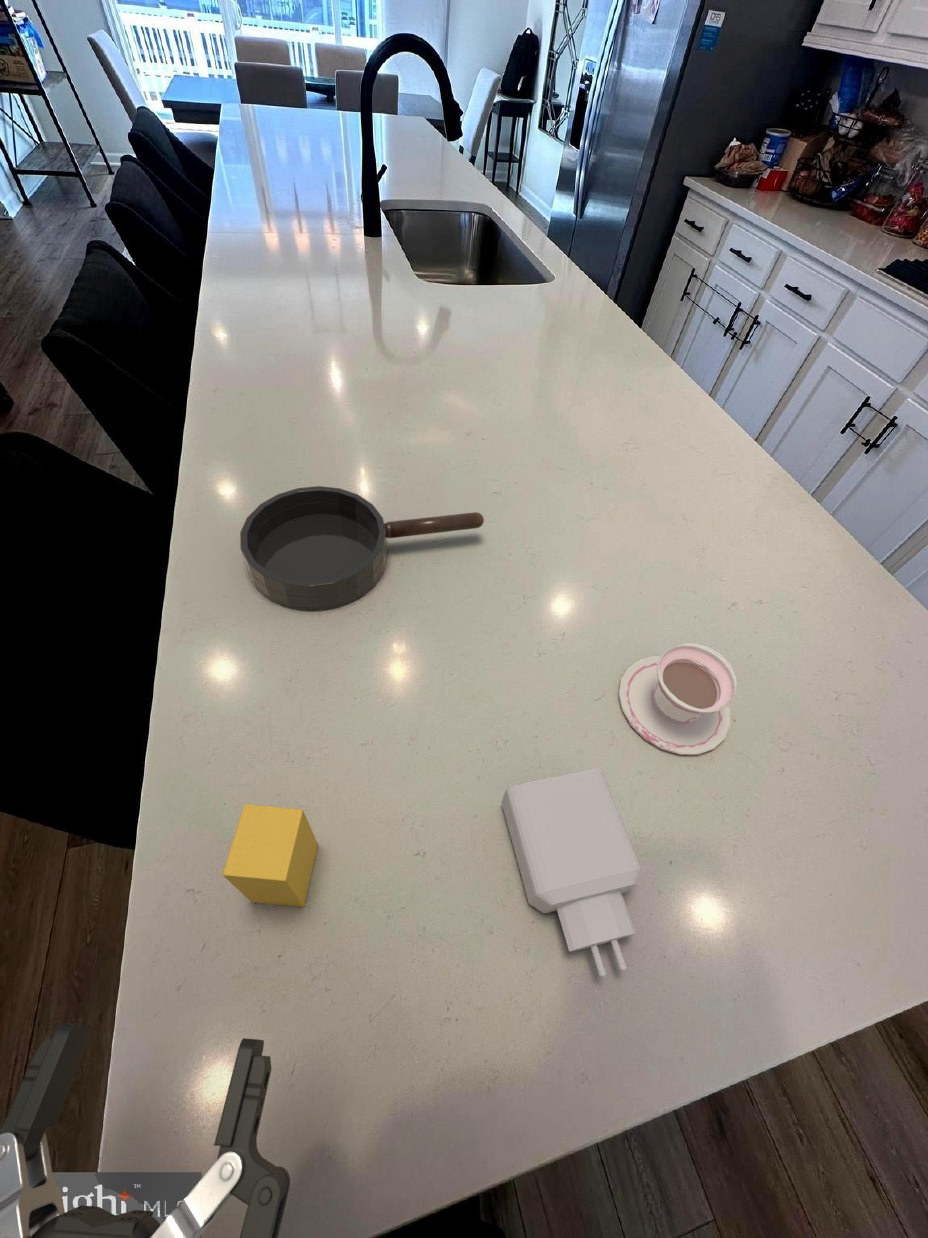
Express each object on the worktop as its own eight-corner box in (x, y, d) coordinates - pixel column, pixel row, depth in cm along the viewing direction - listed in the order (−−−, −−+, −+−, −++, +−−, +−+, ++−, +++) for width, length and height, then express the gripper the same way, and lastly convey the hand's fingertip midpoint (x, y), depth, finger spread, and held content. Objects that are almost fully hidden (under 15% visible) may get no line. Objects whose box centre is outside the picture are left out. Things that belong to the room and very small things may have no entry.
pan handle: (383, 542, 68) (382, 530, 67) (380, 531, 70) (379, 519, 68) (484, 530, 71) (486, 518, 70) (480, 519, 72) (482, 508, 71)
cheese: (304, 907, 46) (285, 881, 39) (250, 902, 46) (221, 875, 39) (318, 844, 49) (303, 809, 42) (268, 839, 49) (244, 803, 42)
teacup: (694, 780, 55) (722, 754, 50) (596, 703, 60) (613, 672, 55) (747, 705, 61) (776, 675, 56) (654, 640, 66) (673, 607, 61)
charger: (550, 992, 44) (500, 804, 52) (657, 962, 45) (591, 785, 54) (563, 987, 40) (507, 785, 48) (679, 954, 42) (604, 766, 50)
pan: (250, 620, 63) (241, 594, 59) (247, 520, 72) (239, 493, 69) (396, 600, 66) (396, 574, 63) (375, 507, 76) (374, 480, 72)
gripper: (-180, 1581, 20) (57, 1022, 30) (220, 1610, 20) (322, 1045, 30) (-430, 1804, 14) (-30, 1014, 24) (141, 1842, 14) (300, 1043, 24)
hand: (166, 1032), depth 27 cm, fingers open, 8 cm apart
